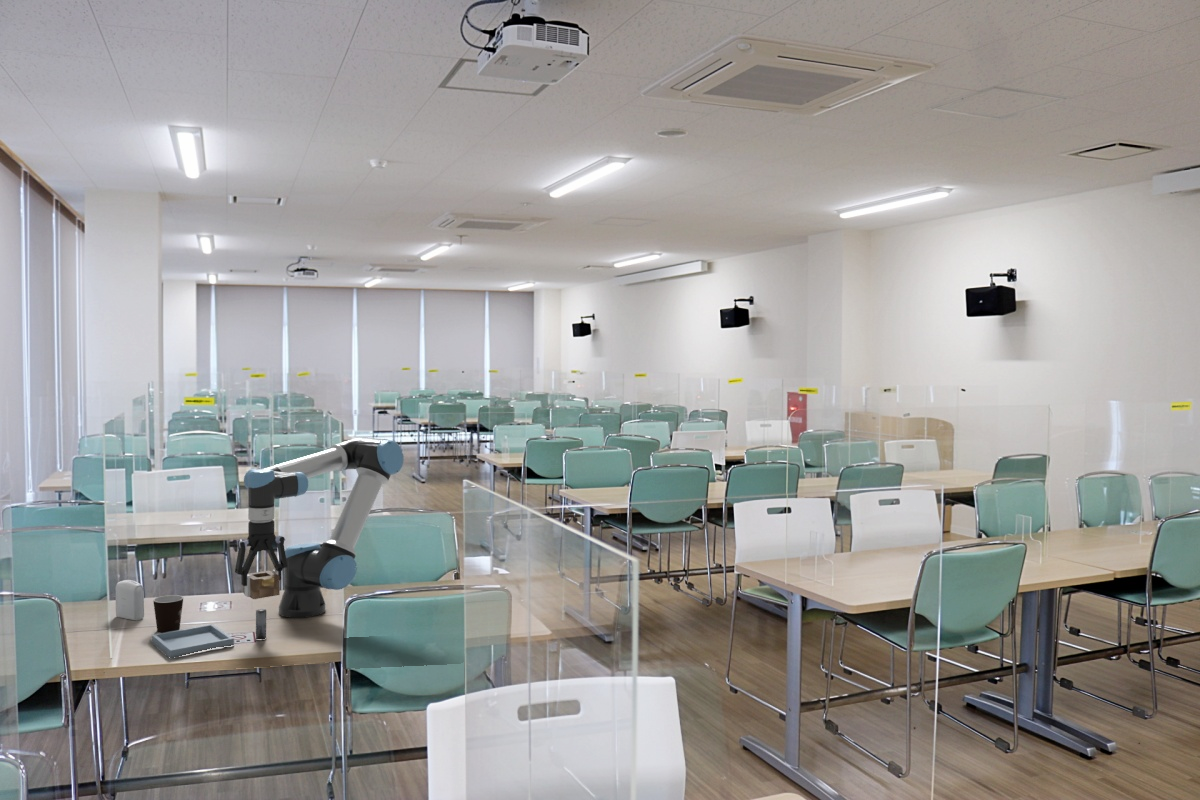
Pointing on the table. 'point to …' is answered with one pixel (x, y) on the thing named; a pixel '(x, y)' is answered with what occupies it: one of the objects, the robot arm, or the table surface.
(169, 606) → the coffee mug
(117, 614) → the photo printer
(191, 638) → the tray
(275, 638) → the table surface
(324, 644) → the table surface
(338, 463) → the robot arm
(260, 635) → the post
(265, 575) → the collar
